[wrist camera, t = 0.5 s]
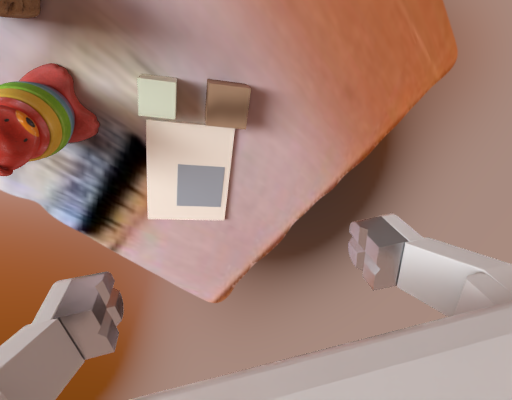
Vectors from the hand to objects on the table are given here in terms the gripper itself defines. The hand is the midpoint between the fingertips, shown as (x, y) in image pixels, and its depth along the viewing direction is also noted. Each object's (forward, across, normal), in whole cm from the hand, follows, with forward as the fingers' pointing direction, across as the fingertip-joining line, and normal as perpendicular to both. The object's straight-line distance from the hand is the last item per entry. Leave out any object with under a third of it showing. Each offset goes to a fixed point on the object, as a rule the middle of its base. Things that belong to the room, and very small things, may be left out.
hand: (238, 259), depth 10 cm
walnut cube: (+42, -4, +3) cm, 42 cm away
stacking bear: (+42, +22, +1) cm, 47 cm away
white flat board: (+42, +4, +14) cm, 44 cm away
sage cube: (+42, +6, 0) cm, 42 cm away
